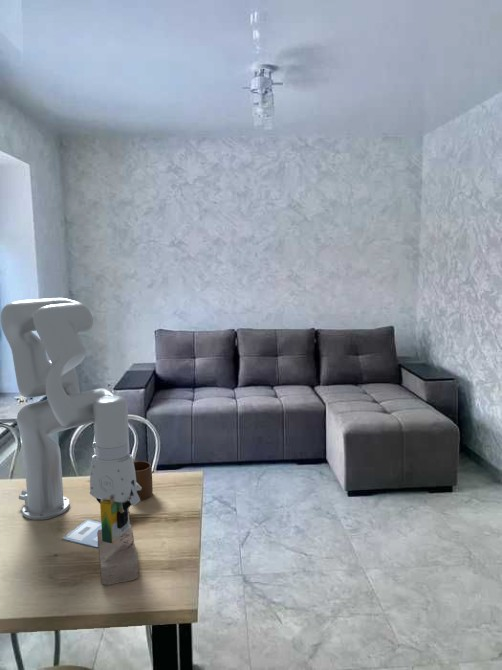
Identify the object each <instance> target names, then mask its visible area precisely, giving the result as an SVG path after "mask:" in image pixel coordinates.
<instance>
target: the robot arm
mask: <svg viewBox="0 0 502 670" xmlns="http://www.w3.org/2000/svg"><path fill="white" fill-rule="evenodd" d="M93 319H94V318H93V315H92V312H91V311H90V309H89V308H88V306H87V305H86V304H84V303H82V302H80V301H76V300H73V299H69V298H64V297H51V298H49V297H48V298H37V299H36V298H34V299H23V300H15V301H12V302H9V303H7V304H6V305H4V306H3V308H2V309H1V313H0V325H1V326H0V327H1V330H2V332H3V334H4V338H6V341H7V343H8V345H9V347H10V349H11V350H10V351H11V354H12V361H13V367H14V371H15V372H14V373H15V378H16V385H17V389H18V392H19V394H20V395H21V396H22V397H24V398H27V399H31V398H38V397H39V398H40V397H45V396H46V398H47V399H45V400H41V401H35V402H32V403H29V404H26V405H25V406H23V407H21V409H20V410H19V411H18V412H17V415H16V423H17V427H18V431H19V434H20V439H21V443H22V450H23V452H22V453H23V462H24V473H25V486H26V488H23V489H22V490H21V494H19V495H18V500H20V501H24V505H23V507H22V509H21V512H22V516H24V517H25V518H26V519H28V520H35V521H37V520H38V521H39V520H47V519H48V520H49V519H53V518H55V517H58V516H60V515H62V514H64V513H65V512H66V511H67V510H68V509H69V508H70V504H71V503H70V499H69V498H68V497H66V496H64V484H63V469H62V456H61V455H62V454H61V448H60V445H59V444H58V442H57V441H55V440H54V439H53V438H52V435H54V434H56V433H58V432H59V433H60V432H63V431H67V430H69V429H73V428H78V427H83V426H86V425H89V424H92V423H93V431H94V442H92V444H91V448H92V449H94V451H95V453H94V454H93V455H92V459H91V463H90V471H89V474H90V475H89V489H90V490H89V491H90V492H89V494H90V495H91V496H92V497H93V498H95V499H96V501H97V502H98V503H99V504H100V502H101V501H103V500H108V501H110V496H111V495H112V499H113V501H114V502H118V508H119V512H117V527H118V528H119V529H121V528H122V527H123V526H124V525H125V524H127V522H128V508H129V509H130V507H132V506H135V505H137V504H138V503H139V502H140V501H141V500H140V498H139V496H138V494H137V492H136V490H137V485H136V474H135V467H134V463H133V459H134V458H133V455H132V454H130V438H129V437H130V435H129V433H130V432H129V412H128V411H129V410H128V409H129V407H128V401H127V399H126V398H125V397H123V396H121V395H116V393H114V392H113V391H112V390H111V389H109V388H105V387H101V388H96V389H91V390H86V391H82V392H81V390H80V384H79V382H80V381H79V377H78V373H77V370H76V367H77V366H78V365H80V364H81V363H82V362H83V361H84V360H85V357H86V355H87V349H86V348H85V346H84V344H83V342H82V340H81V338H80V336H79V335H83V334H87V333H89V332H90V331H91V330H92V327H93V324H94V320H93ZM35 331H36V333H37V335H36V334H35V333H34V332H35ZM47 357H48V358H49V360H48V358H47ZM130 497H131V499H130V500H129V498H130Z"/></svg>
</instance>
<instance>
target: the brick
mask: <svg viewBox="0 0 502 670" xmlns="http://www.w3.org/2000/svg"><path fill="white" fill-rule="evenodd" d="M97 536H98V548H97V549H98V561H99V568H100V578H101V583H102V584H103V585H105V586H107V585H115V584H118V583H124V582H131V581H133V580H136V579H137V578H138V577H139V571H140V570H139V566H140V565H139V557H138V556H139V555H138V550H137V548H136V544H135V538H134V531H133V527H132V524H130V528H129V529H128V530H126V531H125V532H124V533H123V534H122V535H121V536H120V537H119V538H118V539H117V540H115V541H114V543H108V542H103V541H102V529H101V530H98V532H97Z"/></svg>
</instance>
